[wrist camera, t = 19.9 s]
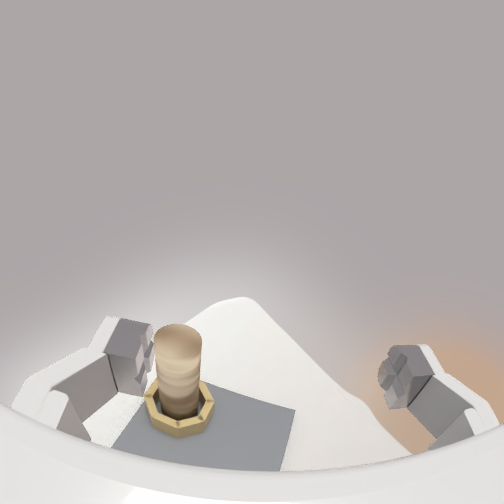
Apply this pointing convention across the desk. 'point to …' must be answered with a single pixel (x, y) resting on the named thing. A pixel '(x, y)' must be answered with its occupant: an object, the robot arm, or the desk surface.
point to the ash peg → (178, 370)
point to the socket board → (211, 432)
